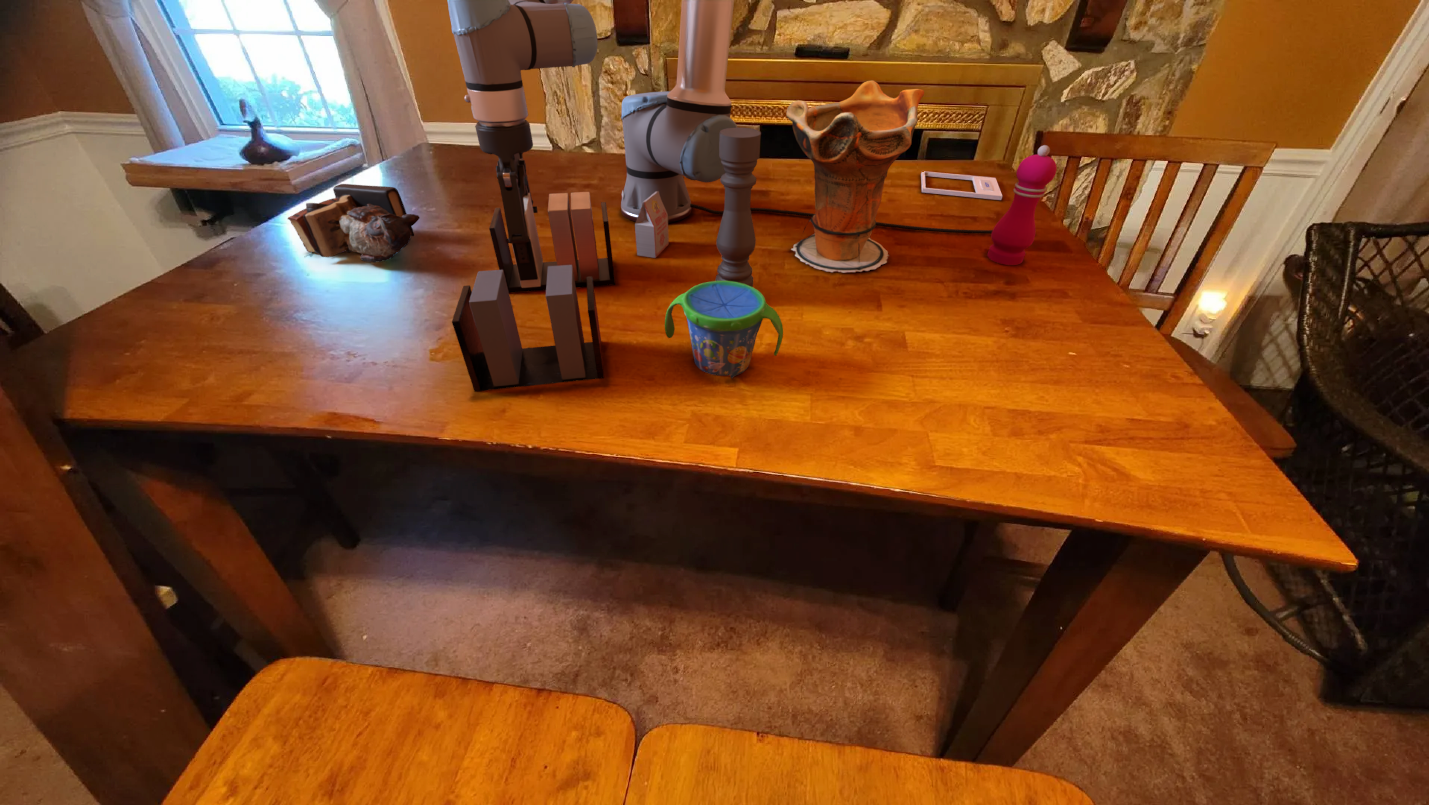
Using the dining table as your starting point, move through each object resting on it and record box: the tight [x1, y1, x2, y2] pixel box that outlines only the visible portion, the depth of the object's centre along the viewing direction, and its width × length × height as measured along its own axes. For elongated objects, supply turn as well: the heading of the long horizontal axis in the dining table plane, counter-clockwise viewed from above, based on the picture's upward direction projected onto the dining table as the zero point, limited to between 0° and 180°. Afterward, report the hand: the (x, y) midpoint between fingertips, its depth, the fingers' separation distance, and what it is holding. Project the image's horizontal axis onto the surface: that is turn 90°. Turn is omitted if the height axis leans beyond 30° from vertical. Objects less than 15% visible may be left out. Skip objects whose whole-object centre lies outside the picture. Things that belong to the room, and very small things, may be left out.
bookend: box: [287, 183, 421, 263], centre depth 100 cm, size 15×11×25 cm
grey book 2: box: [545, 265, 586, 380], centre depth 71 cm, size 3×8×12 cm, turn 11°
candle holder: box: [715, 126, 762, 288], centre depth 83 cm, size 6×6×25 cm
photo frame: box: [920, 170, 1003, 201], centre depth 137 cm, size 15×1×18 cm
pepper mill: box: [986, 144, 1058, 266], centre depth 98 cm, size 7×7×20 cm
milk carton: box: [634, 191, 670, 259], centre depth 102 cm, size 4×7×10 cm, turn 162°
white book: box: [511, 193, 544, 288], centre depth 91 cm, size 3×10×12 cm, turn 11°
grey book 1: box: [469, 269, 523, 387], centre depth 69 cm, size 3×8×12 cm, turn 11°
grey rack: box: [451, 276, 605, 393], centre depth 71 cm, size 16×9×11 cm, turn 101°
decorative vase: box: [785, 80, 925, 274], centre depth 96 cm, size 21×23×28 cm
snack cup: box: [664, 280, 784, 380], centre depth 73 cm, size 16×10×10 cm
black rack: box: [488, 191, 616, 294], centre depth 92 cm, size 18×9×13 cm, turn 101°
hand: (531, 264), depth 93 cm, fingers closed on white book, 10 cm apart
